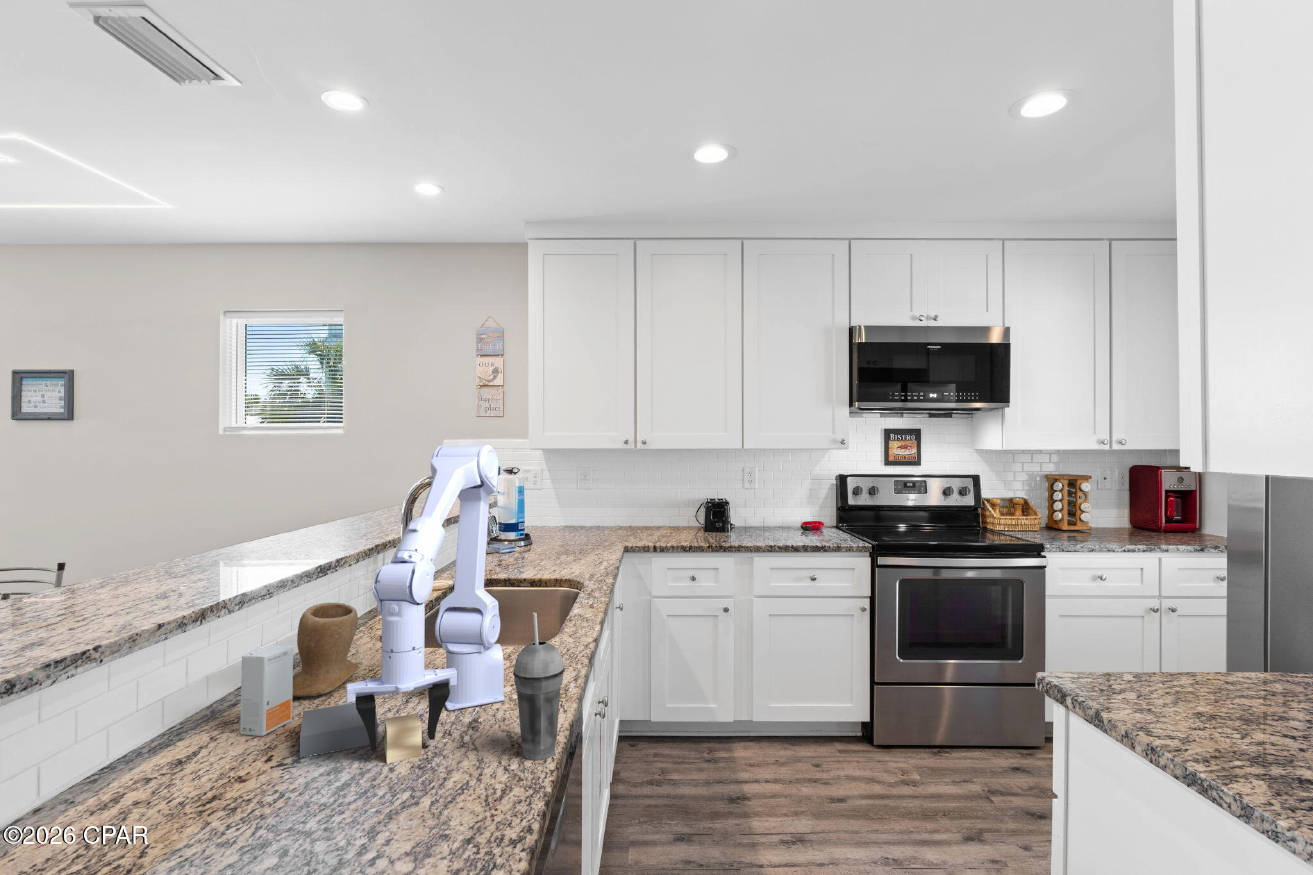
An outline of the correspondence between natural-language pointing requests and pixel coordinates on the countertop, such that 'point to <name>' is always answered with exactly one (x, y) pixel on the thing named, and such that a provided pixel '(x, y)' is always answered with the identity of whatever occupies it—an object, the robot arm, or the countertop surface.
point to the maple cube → (403, 738)
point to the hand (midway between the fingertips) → (402, 742)
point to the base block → (333, 730)
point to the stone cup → (325, 648)
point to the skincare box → (266, 690)
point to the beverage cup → (538, 696)
